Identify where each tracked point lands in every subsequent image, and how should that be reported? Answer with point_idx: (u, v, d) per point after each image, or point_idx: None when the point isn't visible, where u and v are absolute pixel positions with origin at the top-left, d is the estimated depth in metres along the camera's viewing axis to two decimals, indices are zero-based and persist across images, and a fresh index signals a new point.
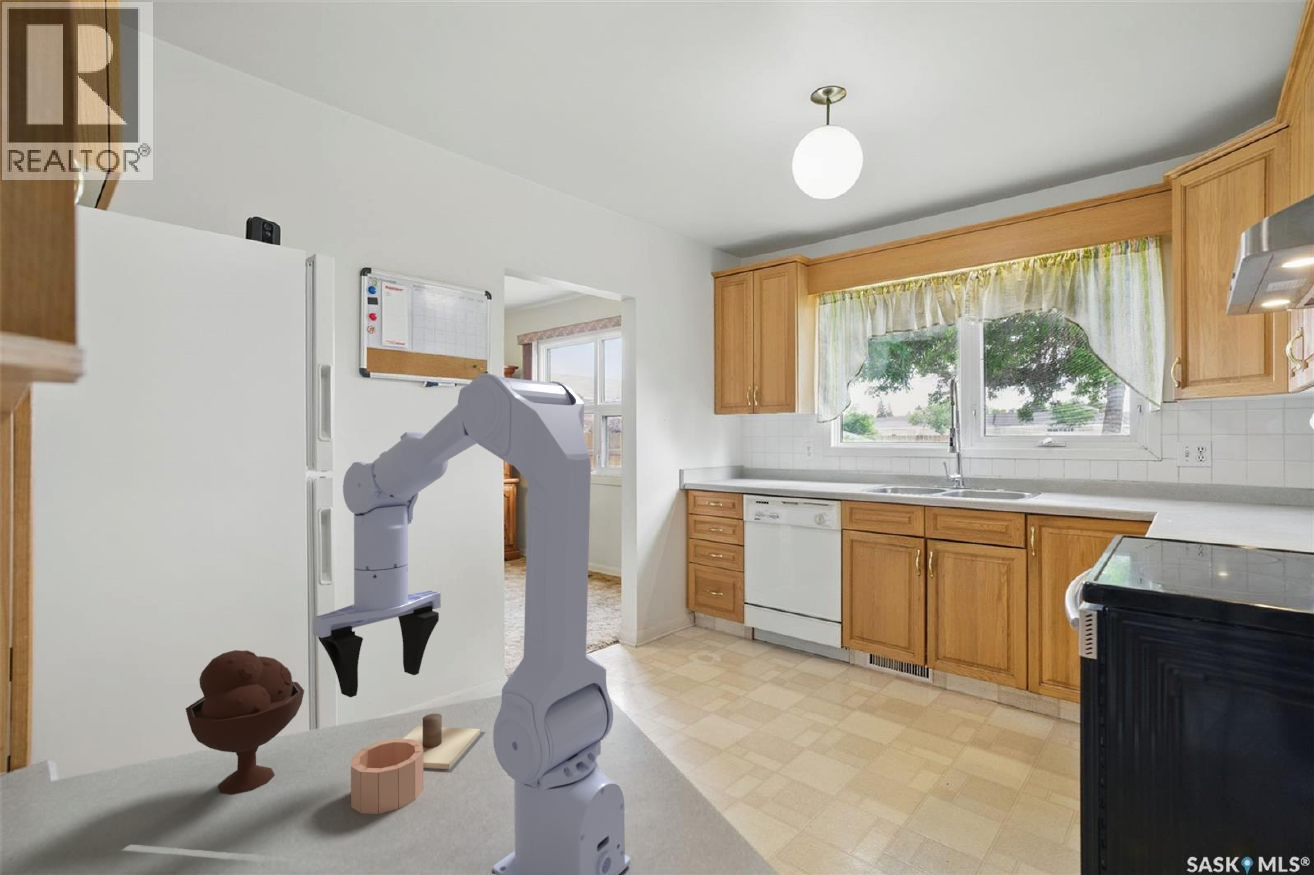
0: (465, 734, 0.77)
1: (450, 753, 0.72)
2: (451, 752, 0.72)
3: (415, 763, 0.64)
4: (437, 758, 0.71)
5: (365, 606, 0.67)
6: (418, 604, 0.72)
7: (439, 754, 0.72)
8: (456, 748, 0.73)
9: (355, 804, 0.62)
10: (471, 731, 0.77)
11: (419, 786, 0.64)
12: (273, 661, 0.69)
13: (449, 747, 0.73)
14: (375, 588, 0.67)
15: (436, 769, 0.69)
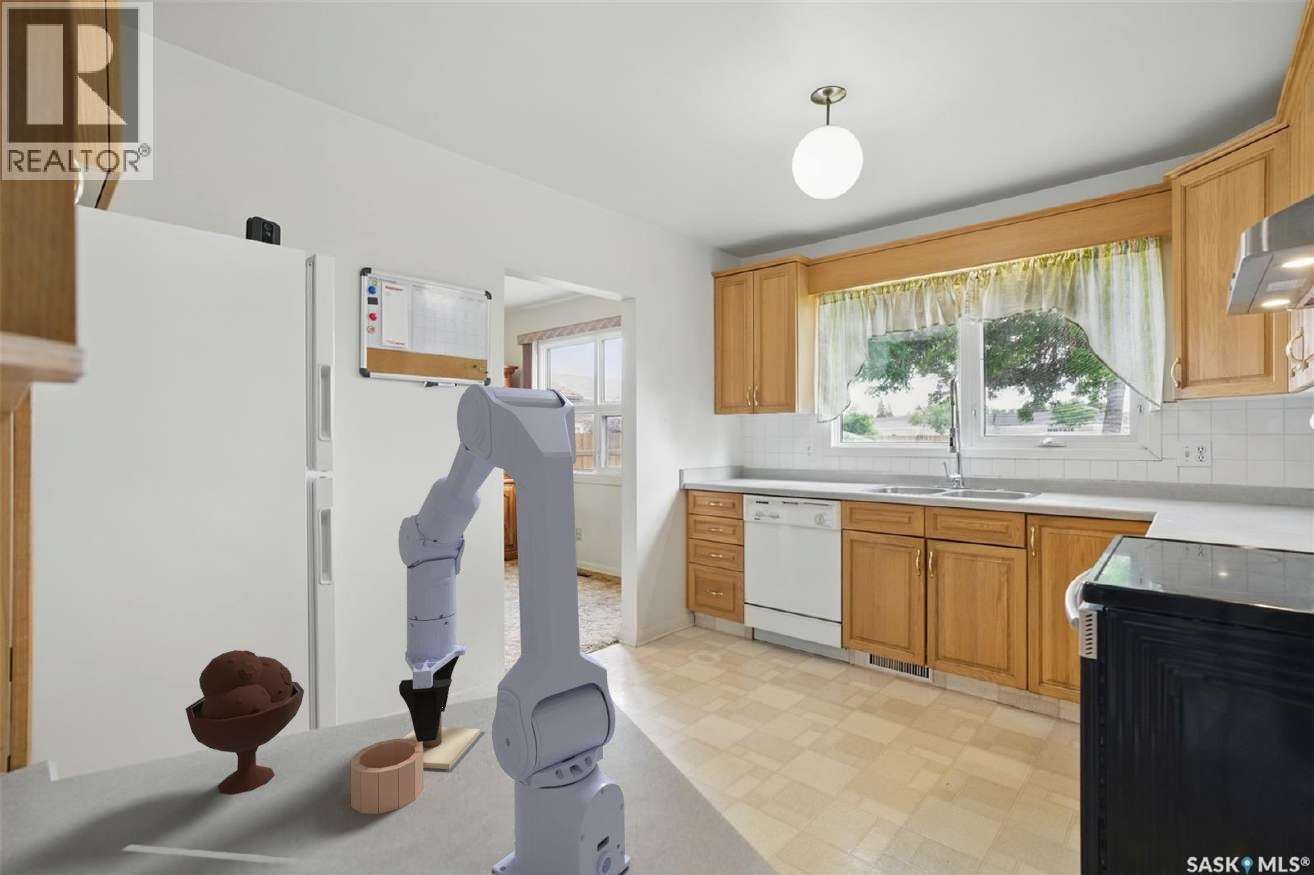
0: (465, 734, 0.77)
1: (450, 753, 0.72)
2: (451, 752, 0.72)
3: (415, 763, 0.64)
4: (437, 758, 0.71)
5: None
6: (409, 665, 0.71)
7: (439, 754, 0.72)
8: (456, 748, 0.73)
9: (355, 804, 0.62)
10: (471, 731, 0.77)
11: (419, 786, 0.64)
12: (273, 661, 0.69)
13: (449, 747, 0.73)
14: None
15: (436, 769, 0.69)
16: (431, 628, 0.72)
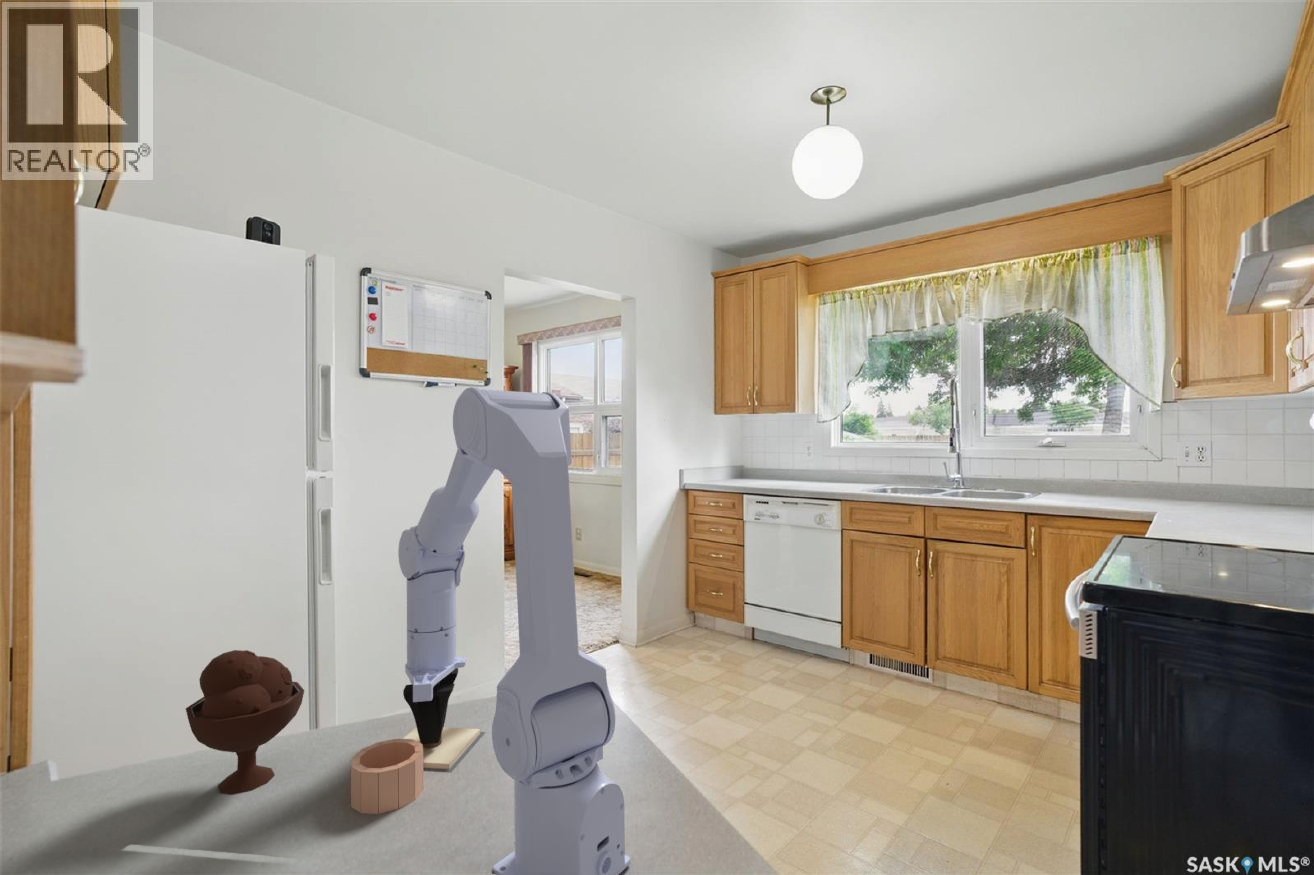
0: (465, 734, 0.77)
1: (450, 753, 0.72)
2: (451, 752, 0.72)
3: (415, 763, 0.64)
4: (437, 758, 0.71)
5: None
6: (409, 678, 0.71)
7: (439, 754, 0.72)
8: (456, 748, 0.73)
9: (355, 804, 0.62)
10: (471, 731, 0.77)
11: (419, 786, 0.64)
12: (273, 661, 0.69)
13: (449, 747, 0.73)
14: None
15: (436, 769, 0.69)
16: (431, 640, 0.72)
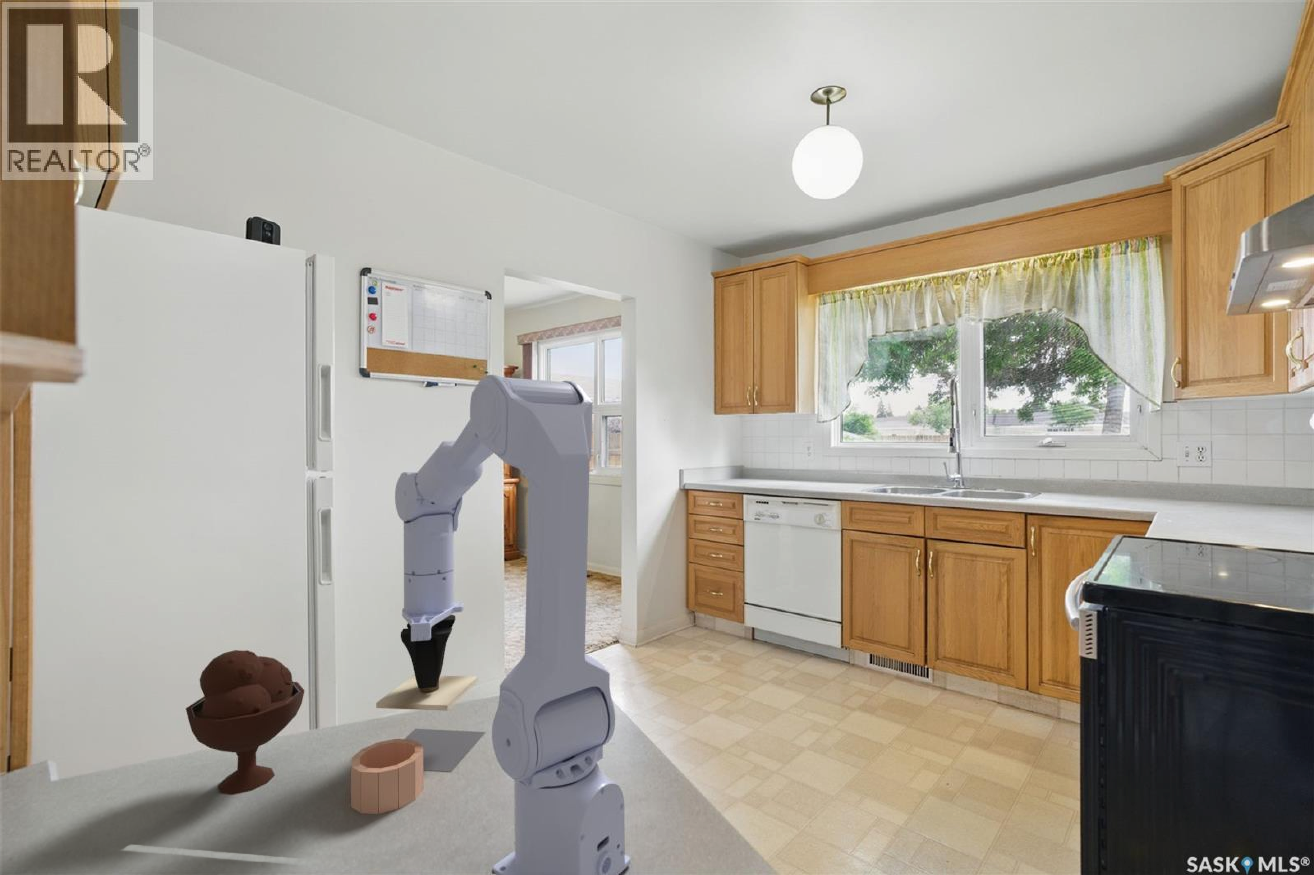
0: (462, 681, 0.76)
1: (448, 696, 0.71)
2: (449, 696, 0.72)
3: (415, 763, 0.64)
4: (435, 701, 0.70)
5: None
6: (407, 620, 0.70)
7: (437, 697, 0.71)
8: (454, 693, 0.72)
9: (355, 804, 0.62)
10: (469, 678, 0.77)
11: (419, 786, 0.64)
12: (273, 661, 0.69)
13: (447, 692, 0.73)
14: None
15: (436, 769, 0.69)
16: (429, 583, 0.71)
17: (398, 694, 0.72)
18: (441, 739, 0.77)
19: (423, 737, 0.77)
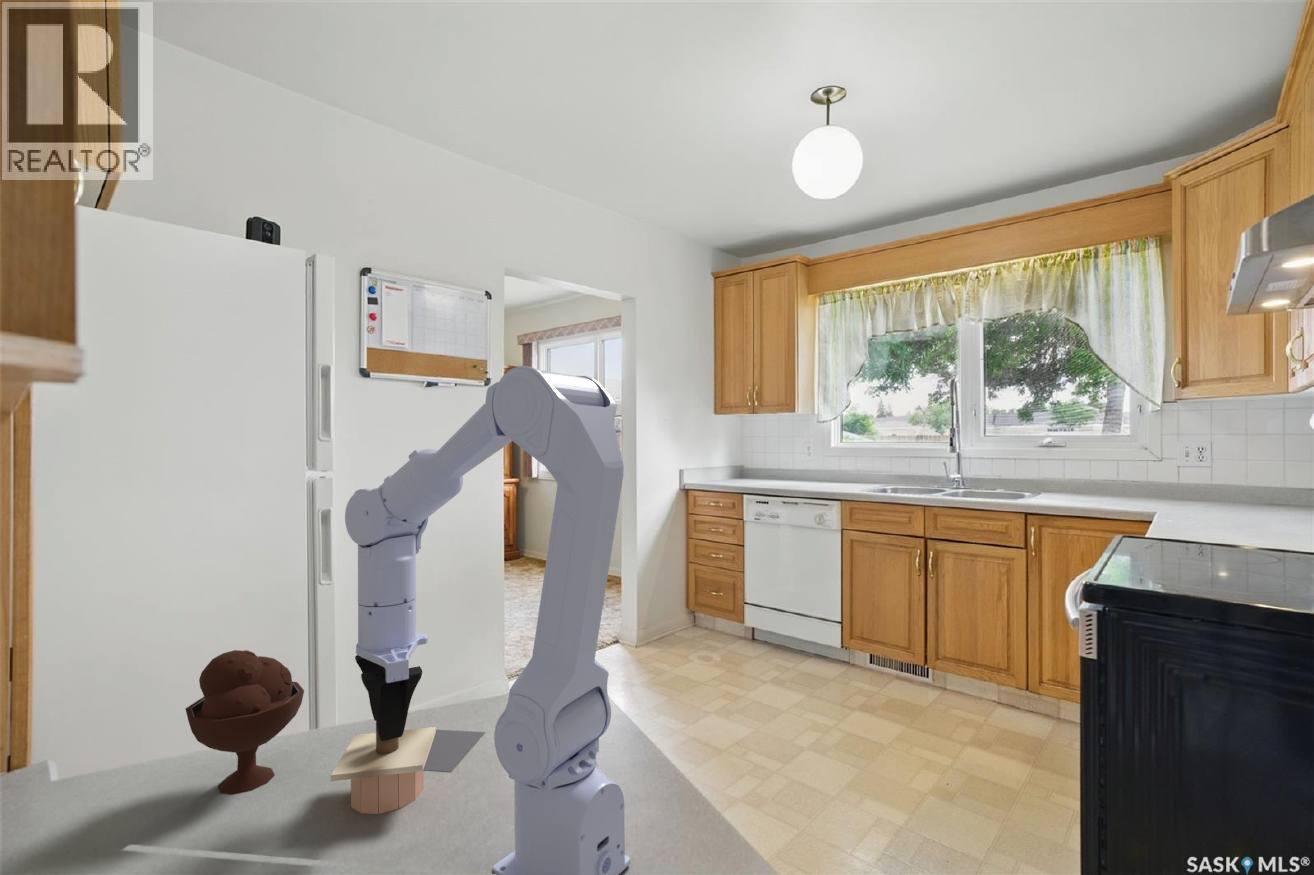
0: (421, 734, 0.68)
1: (416, 754, 0.64)
2: (417, 753, 0.64)
3: None
4: (404, 762, 0.62)
5: None
6: (371, 659, 0.61)
7: (404, 758, 0.63)
8: (420, 749, 0.65)
9: (355, 804, 0.62)
10: (427, 730, 0.69)
11: (419, 786, 0.64)
12: (273, 661, 0.69)
13: (412, 749, 0.65)
14: None
15: (436, 769, 0.69)
16: (395, 614, 0.63)
17: (353, 761, 0.62)
18: (441, 739, 0.77)
19: None
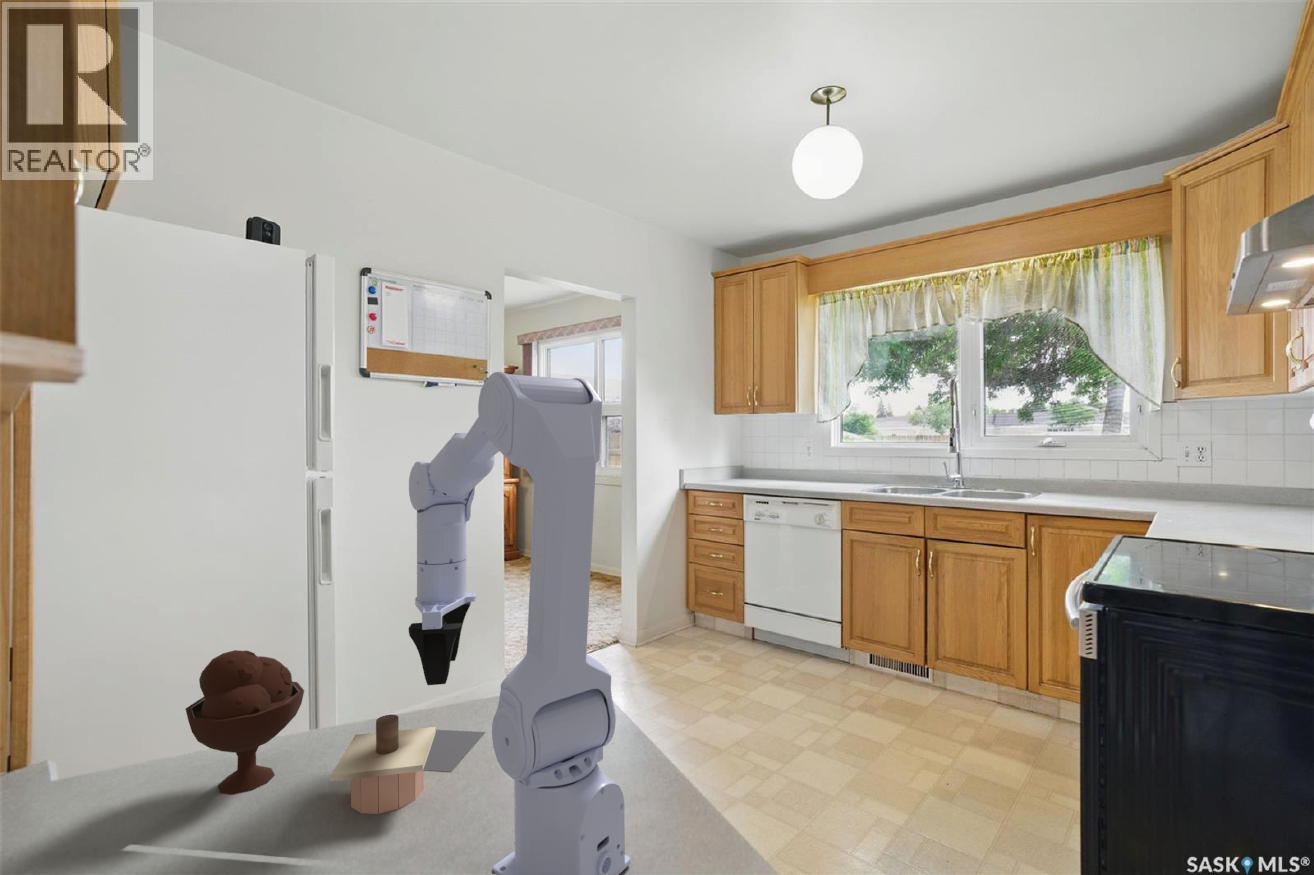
0: (421, 734, 0.68)
1: (416, 754, 0.64)
2: (417, 753, 0.64)
3: None
4: (404, 762, 0.62)
5: None
6: (419, 609, 0.70)
7: (404, 758, 0.63)
8: (420, 749, 0.65)
9: (355, 804, 0.62)
10: (427, 730, 0.69)
11: (419, 786, 0.64)
12: (273, 661, 0.69)
13: (412, 749, 0.65)
14: None
15: (436, 769, 0.69)
16: (441, 572, 0.71)
17: (353, 761, 0.62)
18: (441, 739, 0.77)
19: None
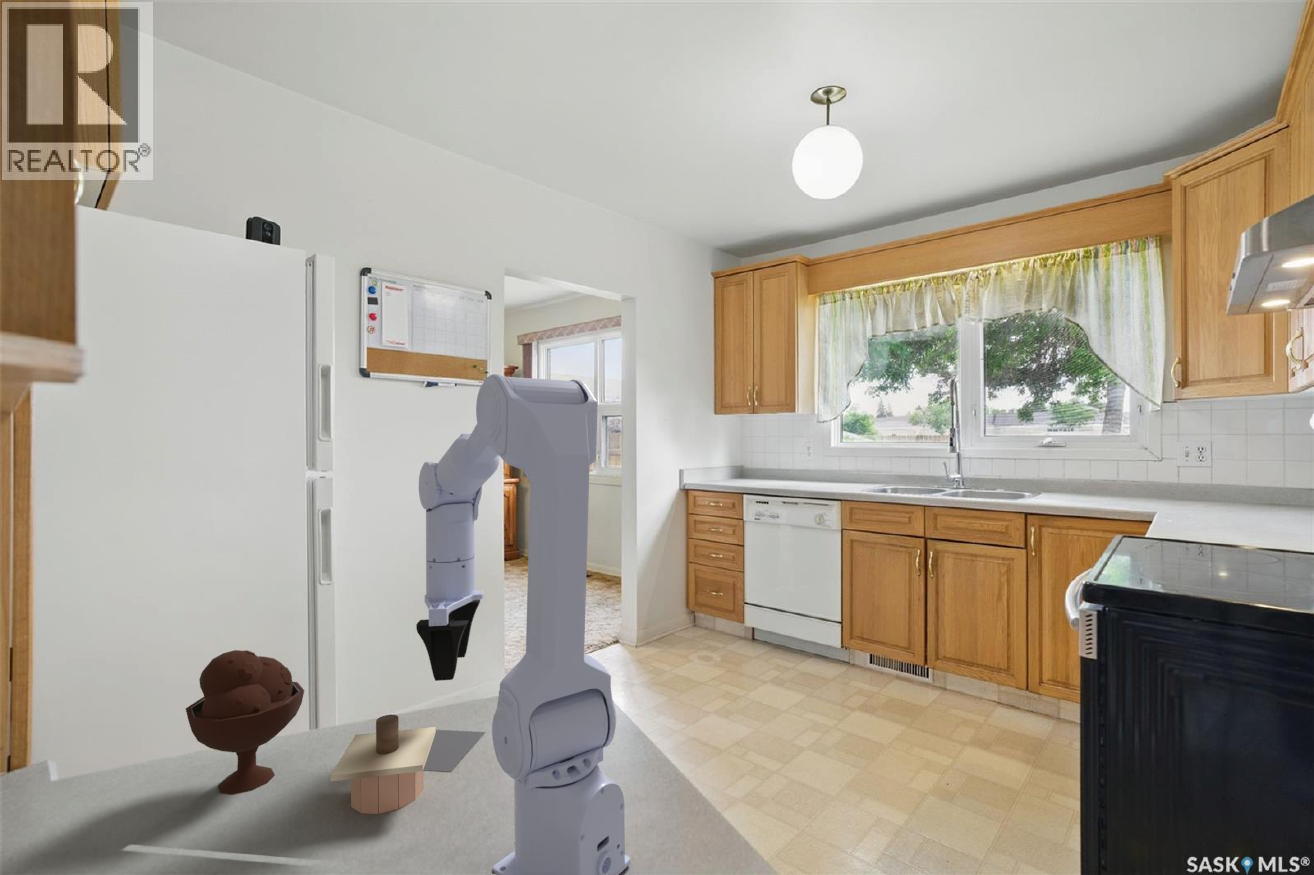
0: (421, 734, 0.68)
1: (416, 754, 0.64)
2: (417, 753, 0.64)
3: None
4: (404, 762, 0.62)
5: None
6: (427, 606, 0.72)
7: (404, 758, 0.63)
8: (420, 749, 0.65)
9: (355, 804, 0.62)
10: (427, 730, 0.69)
11: (419, 786, 0.64)
12: (273, 661, 0.69)
13: (412, 749, 0.65)
14: None
15: (436, 769, 0.69)
16: (448, 570, 0.73)
17: (353, 761, 0.62)
18: (441, 739, 0.77)
19: None
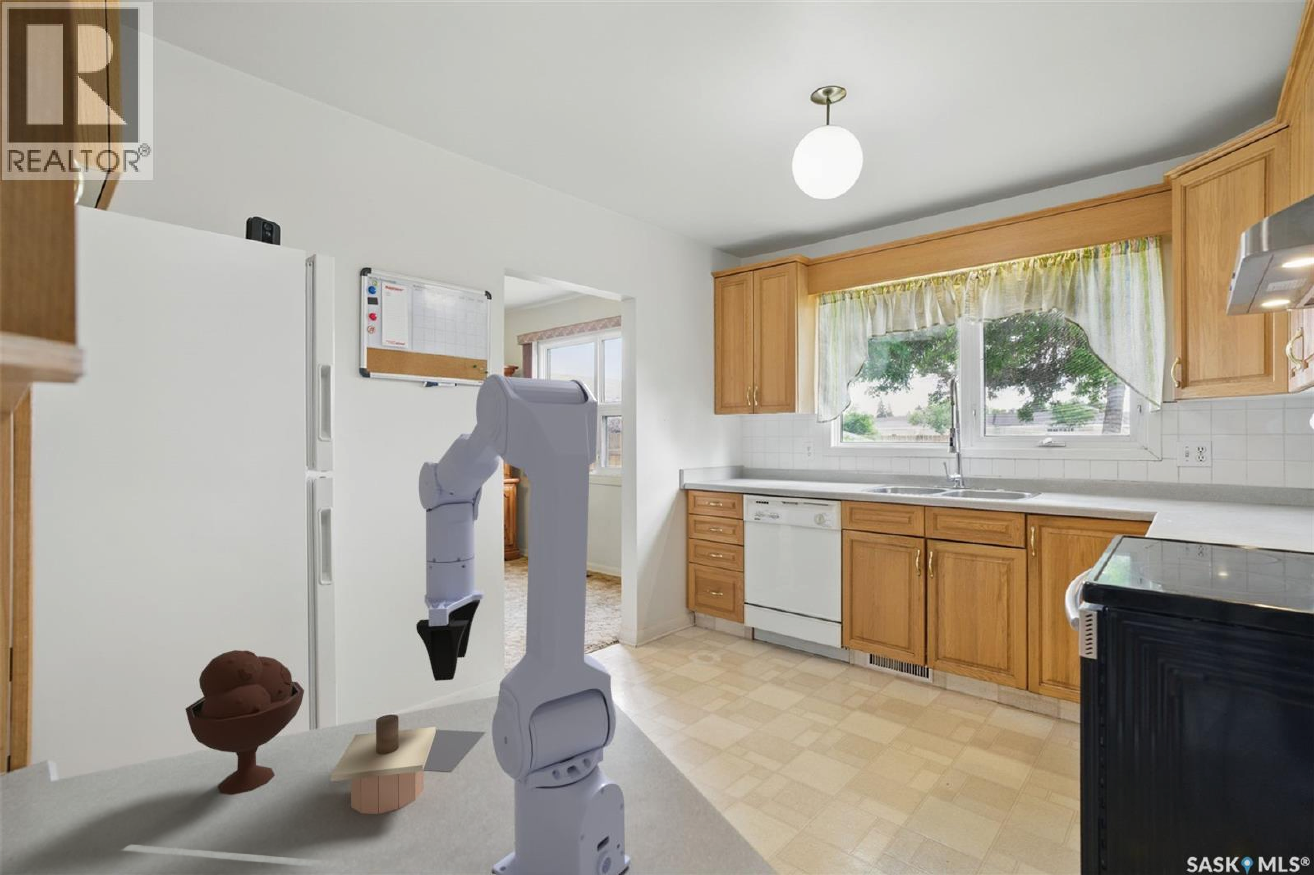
0: (421, 734, 0.68)
1: (416, 754, 0.64)
2: (417, 753, 0.64)
3: None
4: (404, 762, 0.62)
5: None
6: (427, 606, 0.72)
7: (404, 758, 0.63)
8: (420, 749, 0.65)
9: (355, 804, 0.62)
10: (427, 730, 0.69)
11: (419, 786, 0.64)
12: (273, 661, 0.69)
13: (412, 749, 0.65)
14: None
15: (436, 769, 0.69)
16: (448, 570, 0.73)
17: (353, 761, 0.62)
18: (441, 739, 0.77)
19: None
